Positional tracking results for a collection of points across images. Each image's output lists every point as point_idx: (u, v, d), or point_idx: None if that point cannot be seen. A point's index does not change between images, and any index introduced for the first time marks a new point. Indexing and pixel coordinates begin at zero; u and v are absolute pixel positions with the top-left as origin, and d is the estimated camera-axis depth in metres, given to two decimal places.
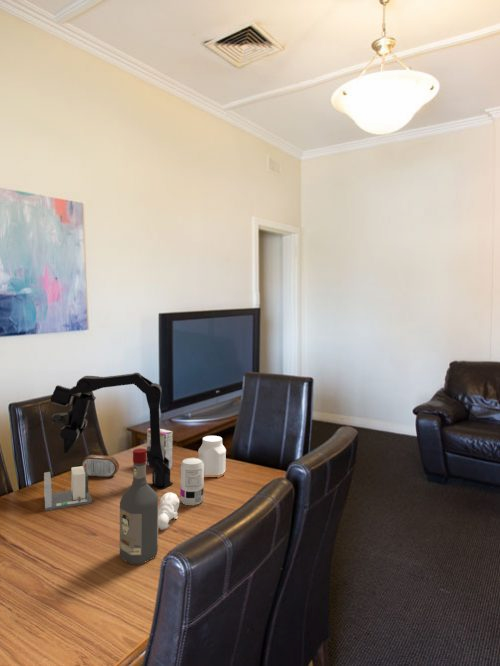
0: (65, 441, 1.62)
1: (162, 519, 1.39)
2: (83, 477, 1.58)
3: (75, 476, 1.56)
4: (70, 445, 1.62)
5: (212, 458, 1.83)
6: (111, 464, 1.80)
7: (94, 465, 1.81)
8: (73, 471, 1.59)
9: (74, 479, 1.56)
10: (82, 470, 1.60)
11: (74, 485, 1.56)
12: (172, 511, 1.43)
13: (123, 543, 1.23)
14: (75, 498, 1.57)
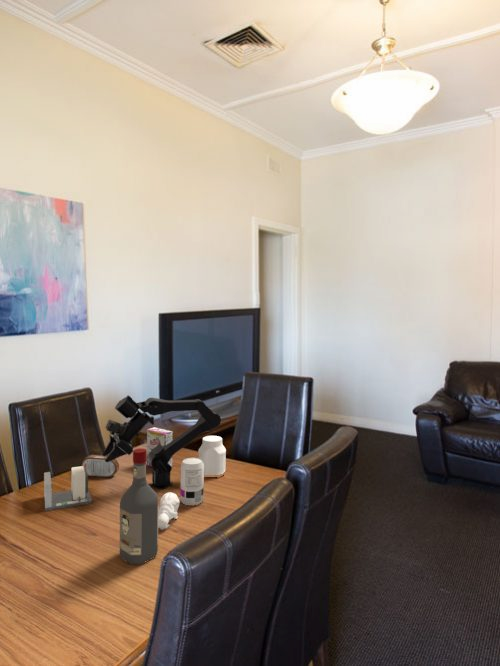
0: (114, 451, 1.61)
1: (162, 519, 1.39)
2: (83, 477, 1.58)
3: (75, 476, 1.56)
4: (116, 457, 1.61)
5: (212, 458, 1.83)
6: (111, 464, 1.80)
7: (94, 465, 1.81)
8: (73, 471, 1.59)
9: (74, 479, 1.56)
10: (82, 470, 1.60)
11: (74, 485, 1.56)
12: (172, 511, 1.43)
13: (123, 543, 1.23)
14: (75, 498, 1.57)
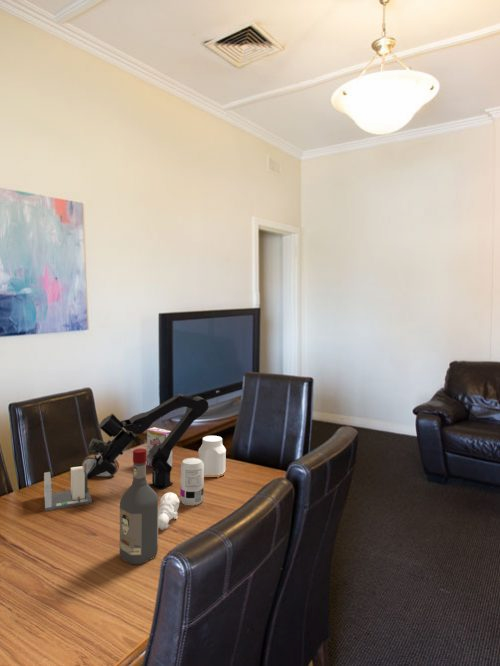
0: (95, 467, 1.61)
1: (162, 519, 1.39)
2: (83, 477, 1.57)
3: (74, 476, 1.56)
4: (97, 473, 1.62)
5: (212, 458, 1.83)
6: None
7: None
8: (72, 471, 1.59)
9: (73, 479, 1.56)
10: (81, 470, 1.60)
11: (73, 485, 1.56)
12: (172, 511, 1.43)
13: (123, 543, 1.23)
14: (74, 498, 1.57)
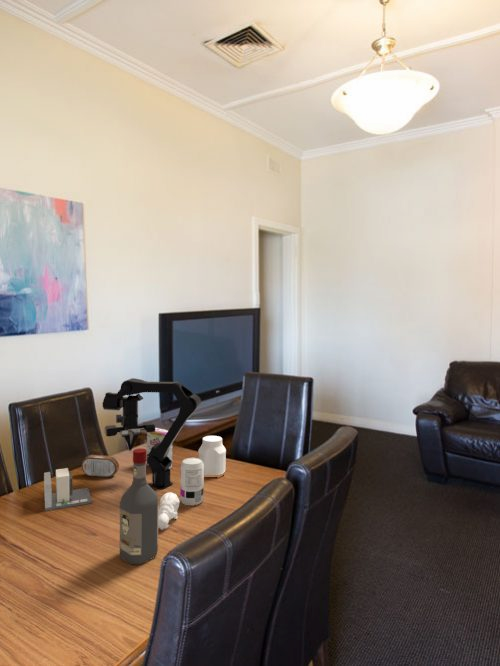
0: (125, 438, 1.75)
1: (162, 519, 1.39)
2: (68, 479, 1.55)
3: (59, 478, 1.54)
4: (127, 442, 1.73)
5: (212, 458, 1.83)
6: (111, 464, 1.80)
7: (94, 465, 1.81)
8: (57, 473, 1.57)
9: (58, 481, 1.54)
10: (66, 472, 1.58)
11: (58, 487, 1.54)
12: (172, 511, 1.43)
13: (123, 543, 1.23)
14: (59, 501, 1.54)
